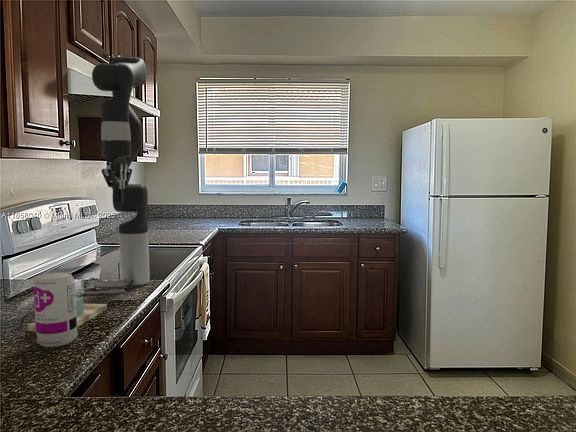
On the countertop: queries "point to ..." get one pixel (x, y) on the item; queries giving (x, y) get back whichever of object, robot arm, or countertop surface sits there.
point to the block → (79, 306)
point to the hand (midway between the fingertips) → (118, 202)
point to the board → (88, 314)
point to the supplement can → (55, 309)
